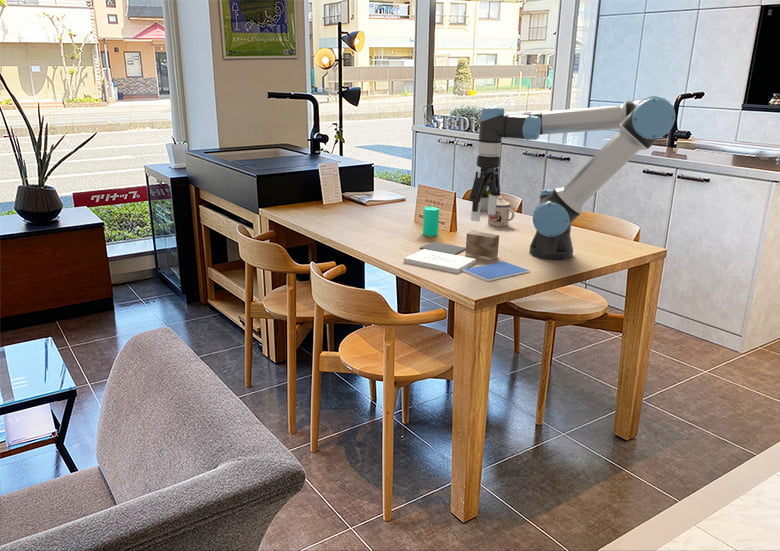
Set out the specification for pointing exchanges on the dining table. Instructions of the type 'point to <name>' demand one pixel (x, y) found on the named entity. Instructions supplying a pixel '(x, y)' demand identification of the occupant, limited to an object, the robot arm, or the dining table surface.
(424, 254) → the marked board
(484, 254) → the sanding block
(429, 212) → the candle
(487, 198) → the house plant
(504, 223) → the teacup with lid
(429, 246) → the mat
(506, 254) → the dining table surface
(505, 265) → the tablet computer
